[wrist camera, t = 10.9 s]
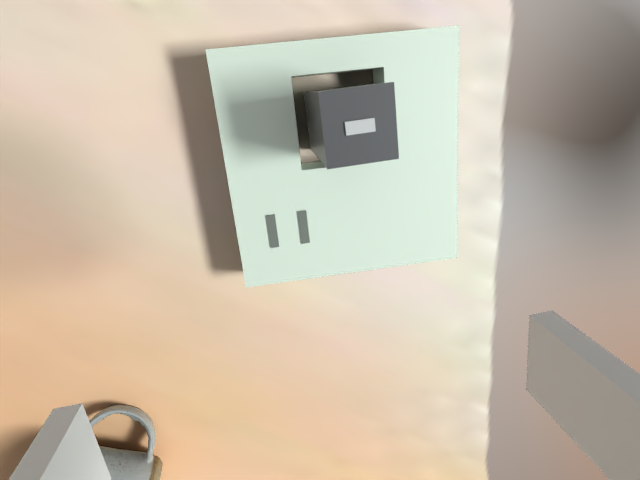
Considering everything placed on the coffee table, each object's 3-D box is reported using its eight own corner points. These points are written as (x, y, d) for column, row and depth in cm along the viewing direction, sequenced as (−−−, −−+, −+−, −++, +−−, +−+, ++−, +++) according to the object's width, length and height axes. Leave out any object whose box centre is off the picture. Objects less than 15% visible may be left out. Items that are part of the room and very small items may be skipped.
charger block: (310, 149, 32) (327, 169, 23) (303, 92, 31) (318, 92, 22) (363, 141, 32) (399, 159, 24) (358, 85, 31) (394, 81, 22)
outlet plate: (247, 271, 34) (245, 288, 31) (211, 53, 29) (205, 49, 26) (441, 244, 36) (457, 258, 33) (440, 31, 30) (459, 25, 27)
